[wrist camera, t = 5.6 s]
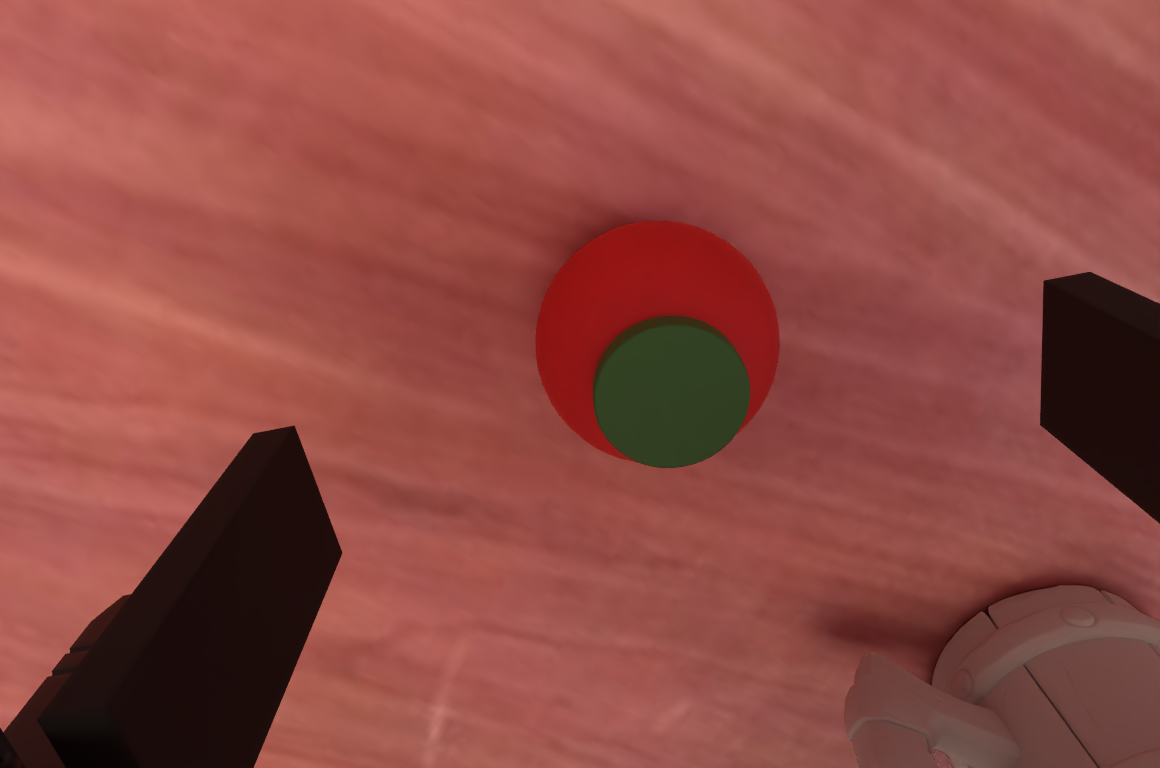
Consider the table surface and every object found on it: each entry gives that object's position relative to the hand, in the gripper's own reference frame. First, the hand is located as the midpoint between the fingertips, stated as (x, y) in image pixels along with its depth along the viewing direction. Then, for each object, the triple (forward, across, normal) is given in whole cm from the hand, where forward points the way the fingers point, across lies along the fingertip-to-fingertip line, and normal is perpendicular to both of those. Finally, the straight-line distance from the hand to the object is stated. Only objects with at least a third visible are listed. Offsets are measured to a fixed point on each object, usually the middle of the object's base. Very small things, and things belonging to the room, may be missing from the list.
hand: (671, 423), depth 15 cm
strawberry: (+8, 0, 0) cm, 8 cm away
